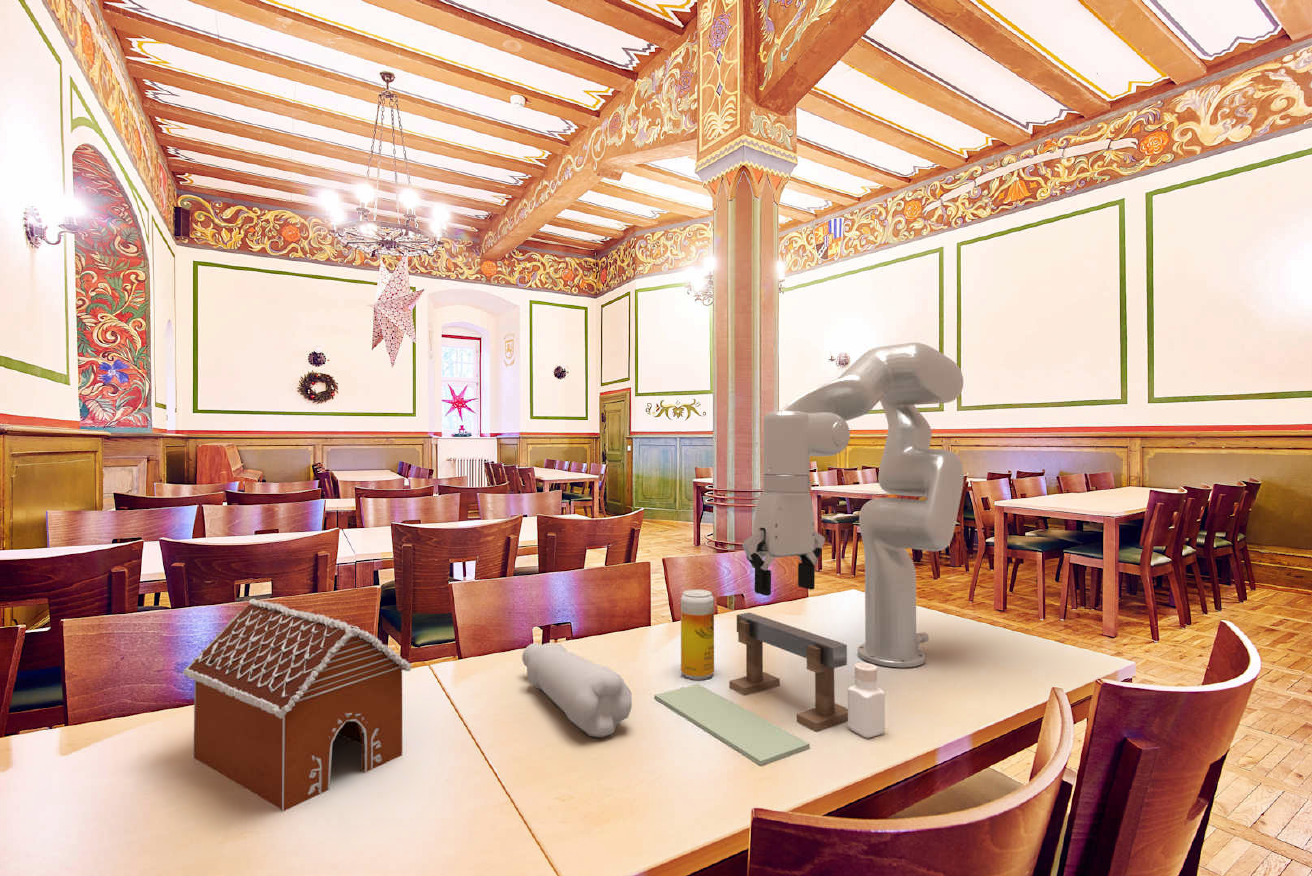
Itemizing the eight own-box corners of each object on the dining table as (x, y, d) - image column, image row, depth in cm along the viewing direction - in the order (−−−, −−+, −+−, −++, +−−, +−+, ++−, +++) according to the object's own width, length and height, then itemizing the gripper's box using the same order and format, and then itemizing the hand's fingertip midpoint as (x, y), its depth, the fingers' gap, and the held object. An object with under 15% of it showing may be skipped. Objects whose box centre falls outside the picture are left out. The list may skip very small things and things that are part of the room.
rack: (764, 678, 112) (763, 614, 112) (853, 719, 95) (852, 643, 95) (729, 687, 107) (729, 621, 108) (816, 731, 91) (815, 652, 91)
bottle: (647, 707, 91) (566, 656, 117) (616, 661, 89) (540, 619, 115) (602, 755, 87) (527, 692, 113) (568, 708, 85) (500, 654, 110)
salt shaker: (866, 740, 88) (866, 673, 88) (846, 729, 91) (845, 664, 92) (886, 734, 90) (886, 668, 90) (865, 723, 93) (865, 660, 94)
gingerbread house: (275, 822, 69) (278, 641, 69) (174, 760, 82) (177, 609, 83) (418, 753, 84) (419, 606, 85) (313, 711, 98) (315, 584, 98)
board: (698, 687, 108) (698, 684, 108) (809, 748, 86) (809, 743, 86) (654, 698, 103) (654, 694, 103) (760, 765, 81) (760, 761, 81)
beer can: (712, 682, 110) (711, 597, 110) (678, 679, 111) (678, 595, 112) (715, 670, 116) (715, 589, 116) (683, 668, 117) (683, 588, 118)
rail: (736, 631, 110) (736, 614, 110) (749, 629, 111) (749, 612, 112) (833, 668, 91) (832, 648, 91) (846, 664, 93) (846, 644, 93)
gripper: (806, 484, 110) (805, 582, 109) (730, 485, 100) (729, 592, 100) (839, 486, 103) (839, 590, 103) (761, 487, 94) (760, 601, 93)
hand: (784, 591), depth 101 cm, fingers open, 9 cm apart
